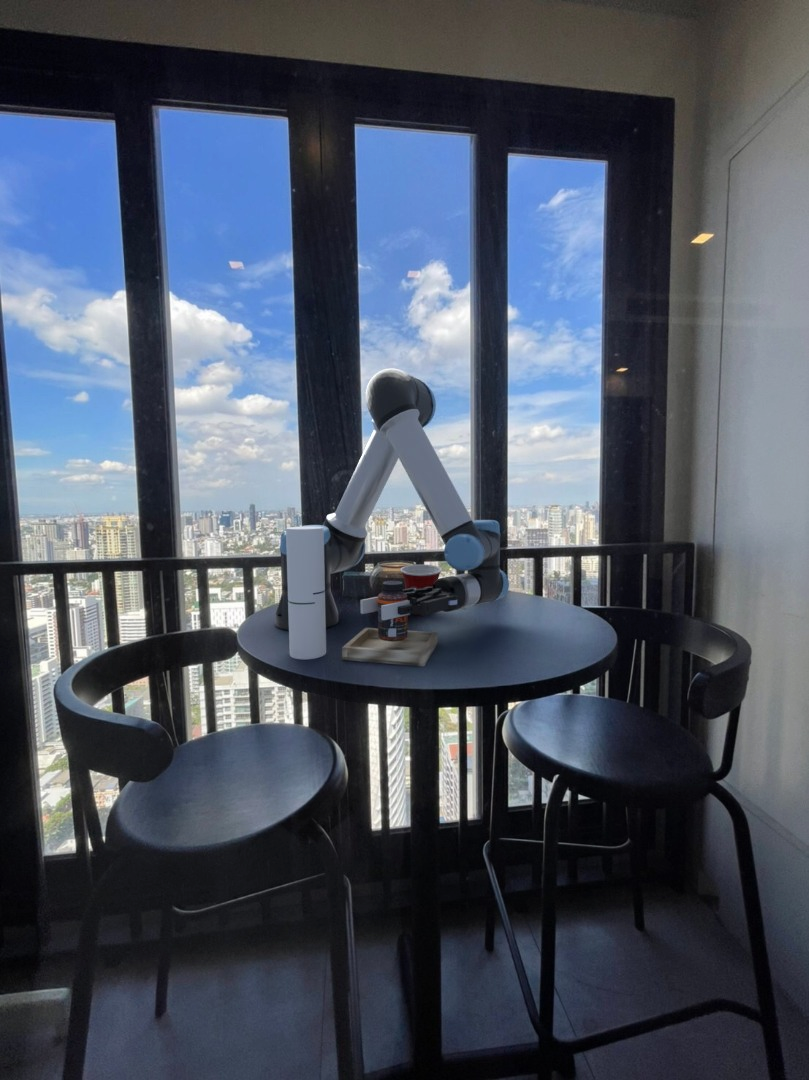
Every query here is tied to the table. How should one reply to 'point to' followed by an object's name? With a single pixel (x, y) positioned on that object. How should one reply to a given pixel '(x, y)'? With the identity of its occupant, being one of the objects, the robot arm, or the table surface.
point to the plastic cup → (420, 576)
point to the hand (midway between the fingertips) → (372, 609)
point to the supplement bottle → (395, 626)
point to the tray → (391, 648)
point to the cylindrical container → (306, 592)
